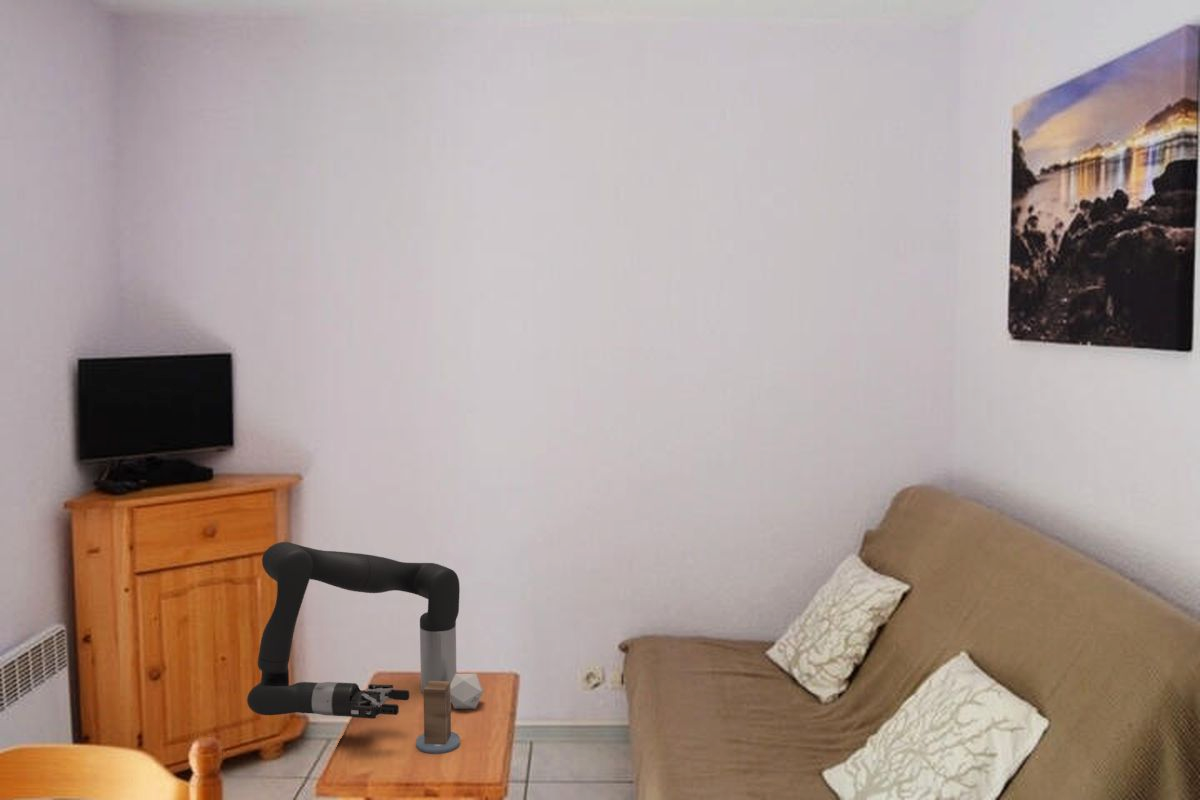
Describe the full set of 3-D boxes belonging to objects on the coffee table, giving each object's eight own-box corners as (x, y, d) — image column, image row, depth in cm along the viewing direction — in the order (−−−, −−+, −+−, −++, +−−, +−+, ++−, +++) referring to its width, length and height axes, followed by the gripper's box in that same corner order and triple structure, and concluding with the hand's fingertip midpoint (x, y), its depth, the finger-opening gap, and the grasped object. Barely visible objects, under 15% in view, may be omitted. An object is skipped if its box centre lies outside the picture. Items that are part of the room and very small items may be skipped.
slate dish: (415, 737, 256) (415, 732, 256) (458, 733, 258) (458, 728, 258) (417, 755, 247) (416, 750, 247) (461, 751, 249) (461, 746, 249)
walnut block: (429, 734, 255) (429, 680, 254) (450, 735, 255) (450, 681, 253) (424, 743, 250) (423, 688, 249) (445, 744, 250) (445, 689, 248)
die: (467, 719, 268) (489, 683, 271) (437, 699, 269) (459, 663, 272) (471, 718, 277) (492, 683, 279) (441, 698, 278) (463, 664, 280)
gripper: (324, 695, 247) (394, 698, 245) (345, 672, 261) (412, 675, 259) (325, 727, 247) (394, 730, 246) (346, 702, 262) (412, 705, 260)
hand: (403, 702), depth 252 cm, fingers open, 8 cm apart
